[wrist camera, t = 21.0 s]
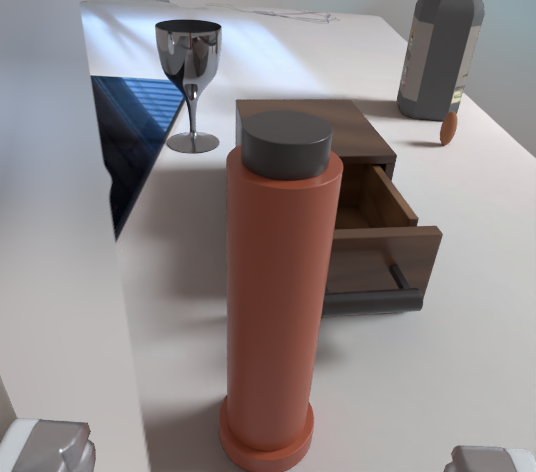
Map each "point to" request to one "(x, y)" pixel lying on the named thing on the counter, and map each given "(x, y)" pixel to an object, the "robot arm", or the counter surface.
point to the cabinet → (344, 129)
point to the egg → (448, 128)
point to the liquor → (438, 57)
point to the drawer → (377, 248)
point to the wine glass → (190, 71)
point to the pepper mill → (276, 283)
